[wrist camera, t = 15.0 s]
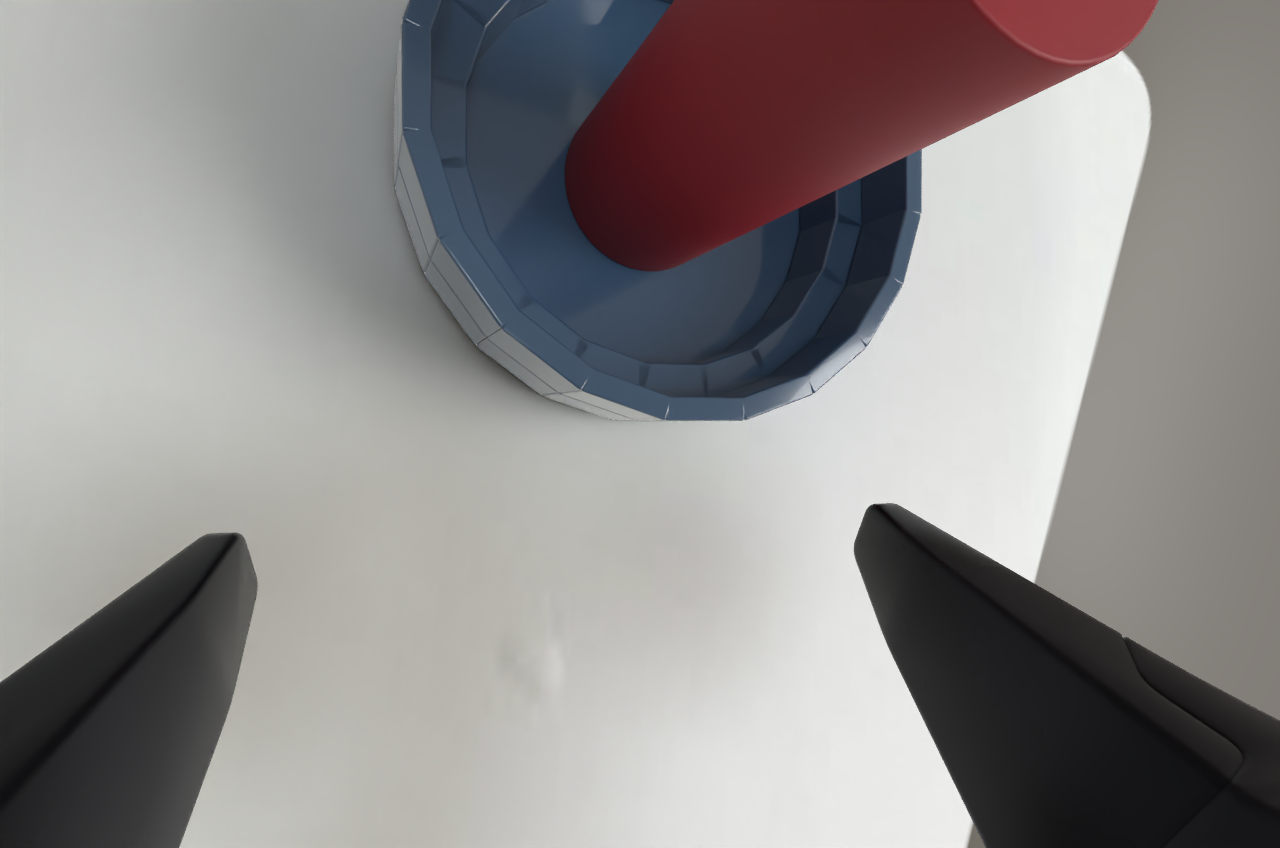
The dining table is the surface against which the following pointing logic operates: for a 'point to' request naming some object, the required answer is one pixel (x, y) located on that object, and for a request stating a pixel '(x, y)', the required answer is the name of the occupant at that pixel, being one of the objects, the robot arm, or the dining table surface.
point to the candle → (805, 105)
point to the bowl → (580, 273)
